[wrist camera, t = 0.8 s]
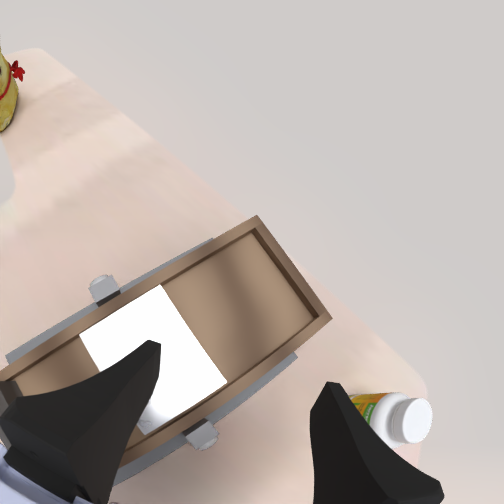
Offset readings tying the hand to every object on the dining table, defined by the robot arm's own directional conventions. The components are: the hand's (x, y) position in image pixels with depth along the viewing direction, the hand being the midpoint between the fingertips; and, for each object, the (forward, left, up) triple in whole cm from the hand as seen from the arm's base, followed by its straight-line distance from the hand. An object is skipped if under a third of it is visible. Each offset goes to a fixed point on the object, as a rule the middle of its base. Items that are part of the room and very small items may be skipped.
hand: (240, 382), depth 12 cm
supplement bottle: (+10, -13, -14) cm, 22 cm away
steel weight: (-2, +3, -9) cm, 10 cm away
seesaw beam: (-3, +3, -10) cm, 10 cm away
